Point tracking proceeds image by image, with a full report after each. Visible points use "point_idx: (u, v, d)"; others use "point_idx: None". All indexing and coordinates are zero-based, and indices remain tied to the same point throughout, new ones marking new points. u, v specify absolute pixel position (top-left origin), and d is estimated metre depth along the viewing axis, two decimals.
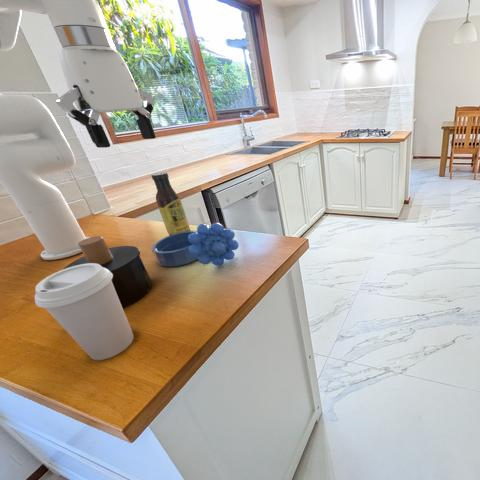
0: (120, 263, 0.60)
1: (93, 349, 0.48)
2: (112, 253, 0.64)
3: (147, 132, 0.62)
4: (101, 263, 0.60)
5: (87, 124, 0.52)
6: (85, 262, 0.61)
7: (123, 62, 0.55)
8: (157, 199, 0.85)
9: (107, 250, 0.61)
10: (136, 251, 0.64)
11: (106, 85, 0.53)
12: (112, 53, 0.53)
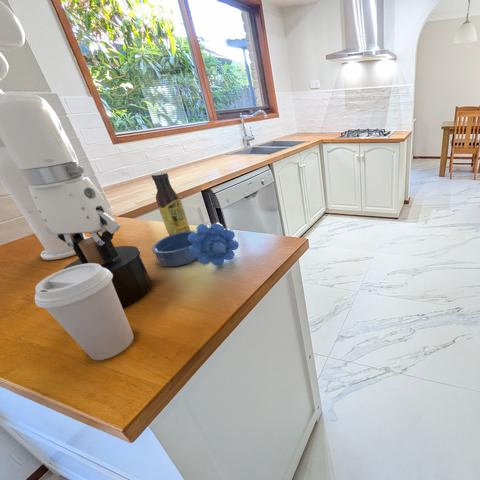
0: (120, 263, 0.60)
1: (93, 349, 0.48)
2: None
3: None
4: (101, 263, 0.60)
5: None
6: None
7: (72, 192, 0.52)
8: (157, 199, 0.85)
9: None
10: (136, 251, 0.64)
11: (57, 214, 0.54)
12: (58, 186, 0.51)
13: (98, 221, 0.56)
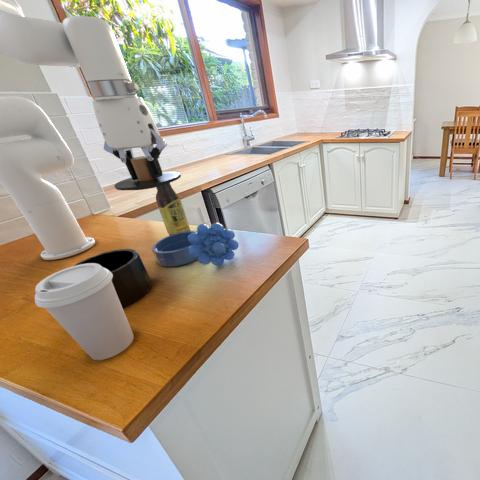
0: (166, 179, 0.67)
1: (93, 349, 0.48)
2: None
3: None
4: (149, 179, 0.67)
5: None
6: (134, 180, 0.69)
7: (130, 106, 0.60)
8: (157, 199, 0.85)
9: None
10: (178, 173, 0.72)
11: (115, 128, 0.62)
12: (119, 100, 0.59)
13: (150, 136, 0.63)
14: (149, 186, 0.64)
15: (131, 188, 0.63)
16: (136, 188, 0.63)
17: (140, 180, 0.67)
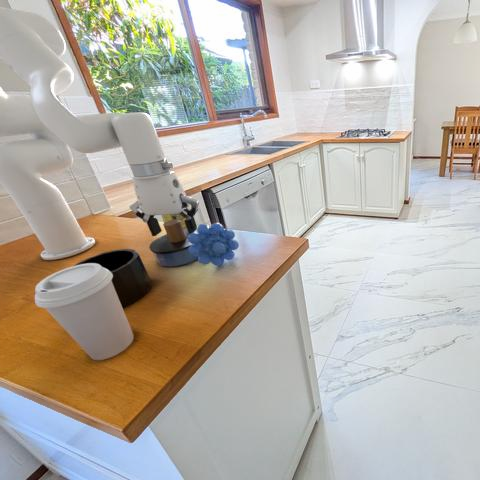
0: None
1: (93, 349, 0.48)
2: None
3: None
4: (179, 240, 0.76)
5: None
6: (165, 240, 0.78)
7: (165, 182, 0.69)
8: None
9: (183, 230, 0.77)
10: None
11: (151, 199, 0.70)
12: (156, 178, 0.68)
13: (178, 199, 0.71)
14: (181, 249, 0.73)
15: (165, 252, 0.72)
16: (170, 252, 0.72)
17: (171, 241, 0.76)
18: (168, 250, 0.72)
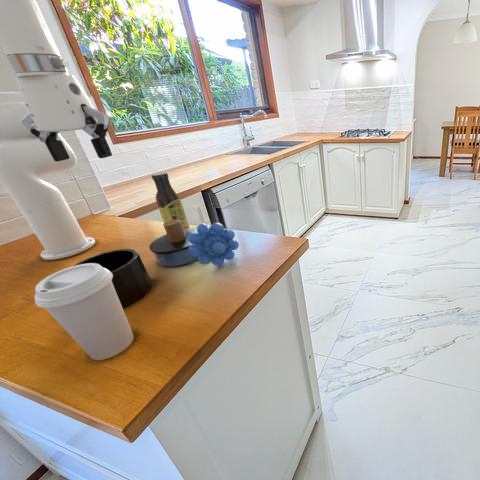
0: None
1: (93, 349, 0.48)
2: None
3: None
4: (179, 240, 0.76)
5: None
6: (165, 240, 0.78)
7: (58, 84, 0.55)
8: (157, 199, 0.85)
9: (183, 230, 0.77)
10: None
11: (43, 108, 0.57)
12: (44, 77, 0.54)
13: (79, 109, 0.57)
14: (181, 249, 0.73)
15: (165, 252, 0.72)
16: (170, 252, 0.72)
17: (171, 241, 0.76)
18: (168, 250, 0.72)
